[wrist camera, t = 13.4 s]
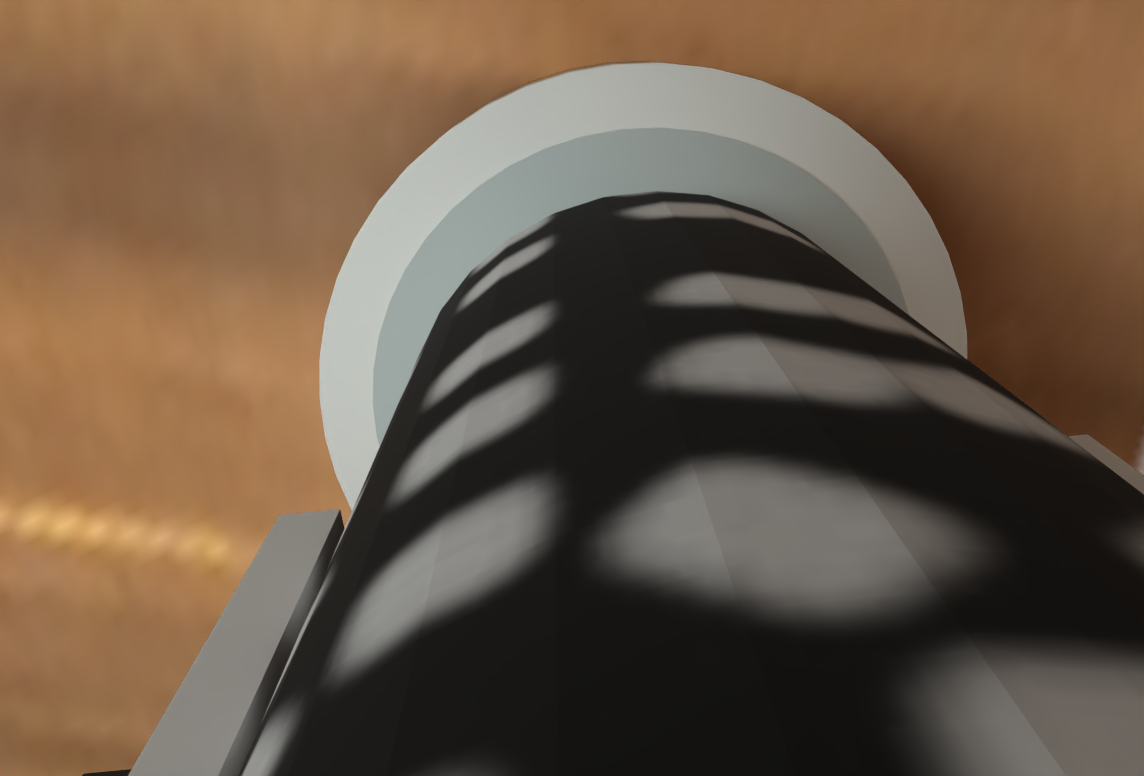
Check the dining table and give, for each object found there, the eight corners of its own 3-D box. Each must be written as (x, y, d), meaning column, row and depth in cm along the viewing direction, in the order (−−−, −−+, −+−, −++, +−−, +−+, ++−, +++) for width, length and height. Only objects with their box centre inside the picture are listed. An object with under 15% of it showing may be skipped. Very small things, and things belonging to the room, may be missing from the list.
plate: (403, 613, 22) (380, 701, 19) (301, 95, 18) (249, 105, 15) (900, 565, 22) (955, 647, 19) (917, 28, 17) (991, 25, 14)
